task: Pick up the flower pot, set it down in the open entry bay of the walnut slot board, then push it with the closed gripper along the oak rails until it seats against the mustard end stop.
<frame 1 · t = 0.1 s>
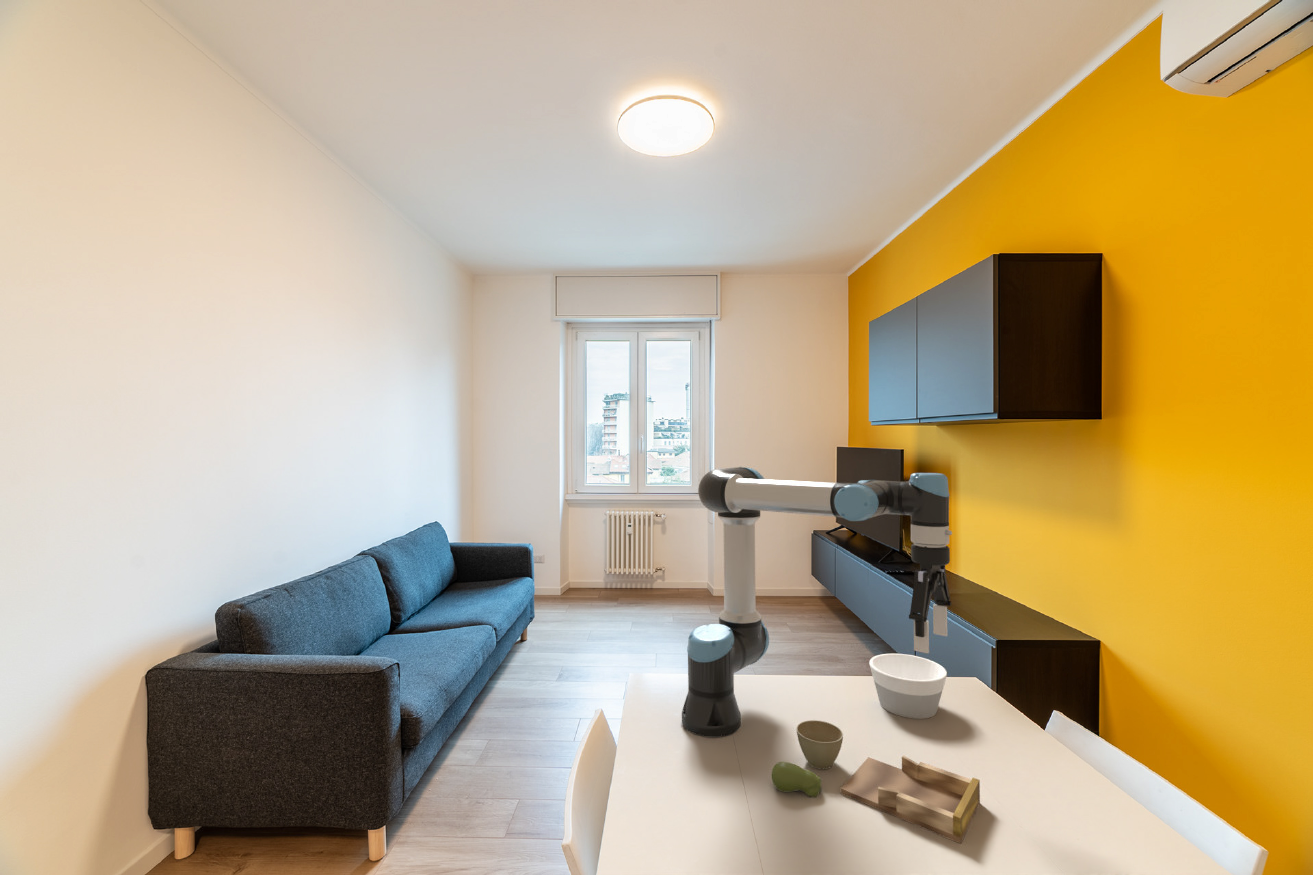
hand: (931, 642, 121), 28 cm above the table, fingers open, 13 cm apart
flower pot: (819, 763, 125), on the table
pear: (796, 791, 115), on the table
slot board: (909, 797, 112), on the table
bowl: (907, 706, 151), on the table
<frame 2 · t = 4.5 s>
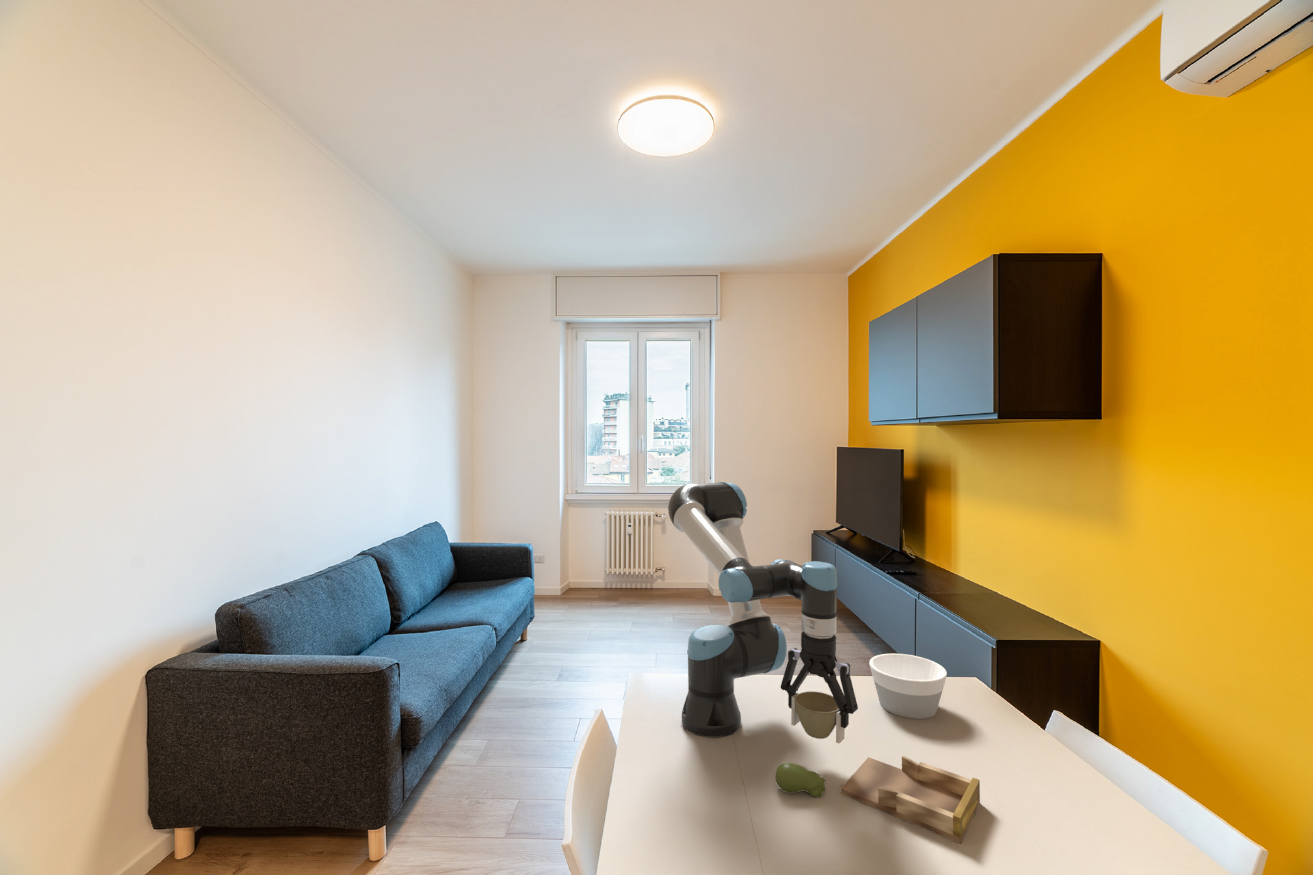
hand: (817, 731, 125), 7 cm above the table, fingers closed on flower pot, 10 cm apart
flower pot: (817, 733, 125), point 6 cm above the table, touching gripper
when the fingers open (2 cm above the table, at t = 8.3 s): flower pot drops 1 cm, resting on slot board.
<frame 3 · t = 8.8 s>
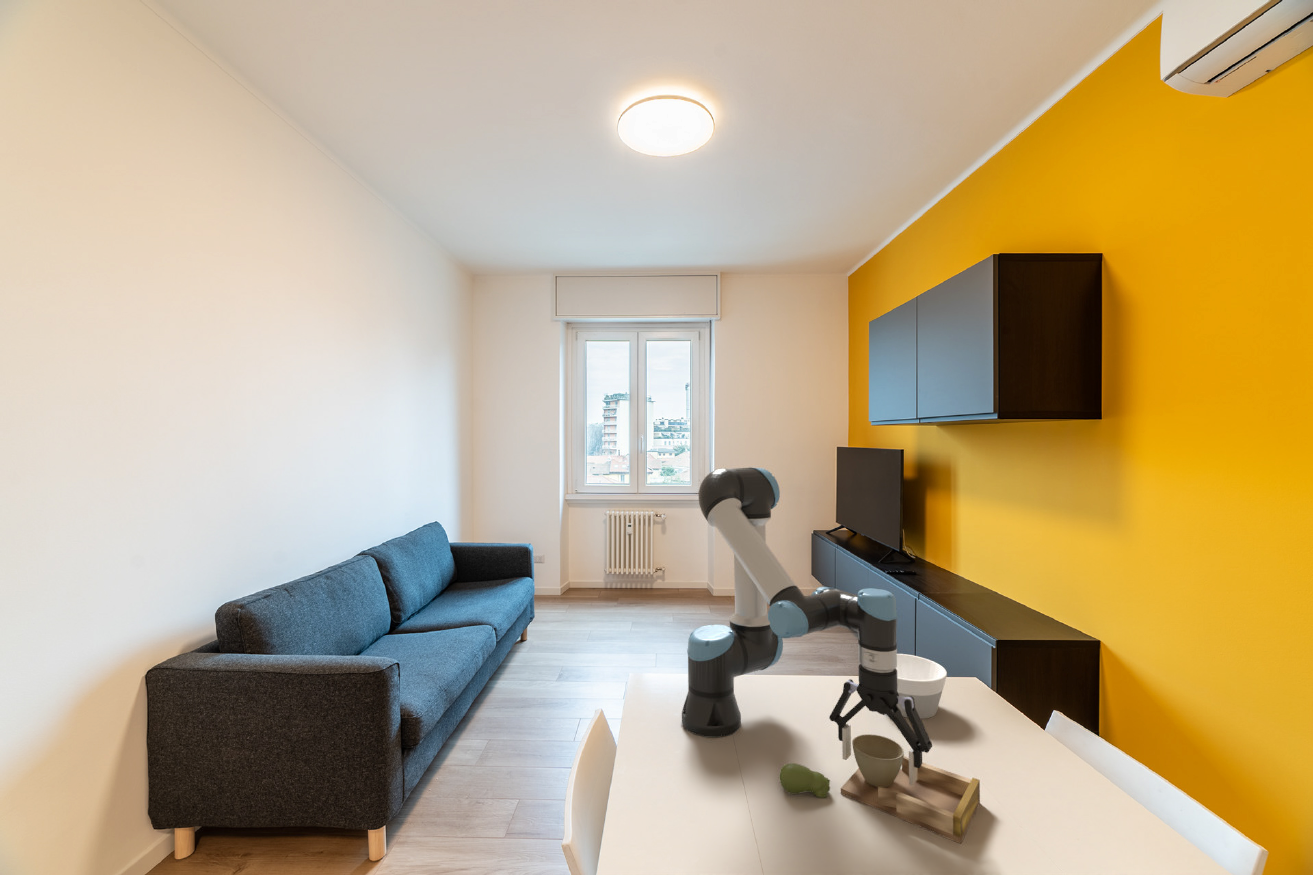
hand: (878, 768, 116), 4 cm above the table, fingers open, 13 cm apart
flower pot: (877, 781, 116), point 1 cm above the table, touching slot board
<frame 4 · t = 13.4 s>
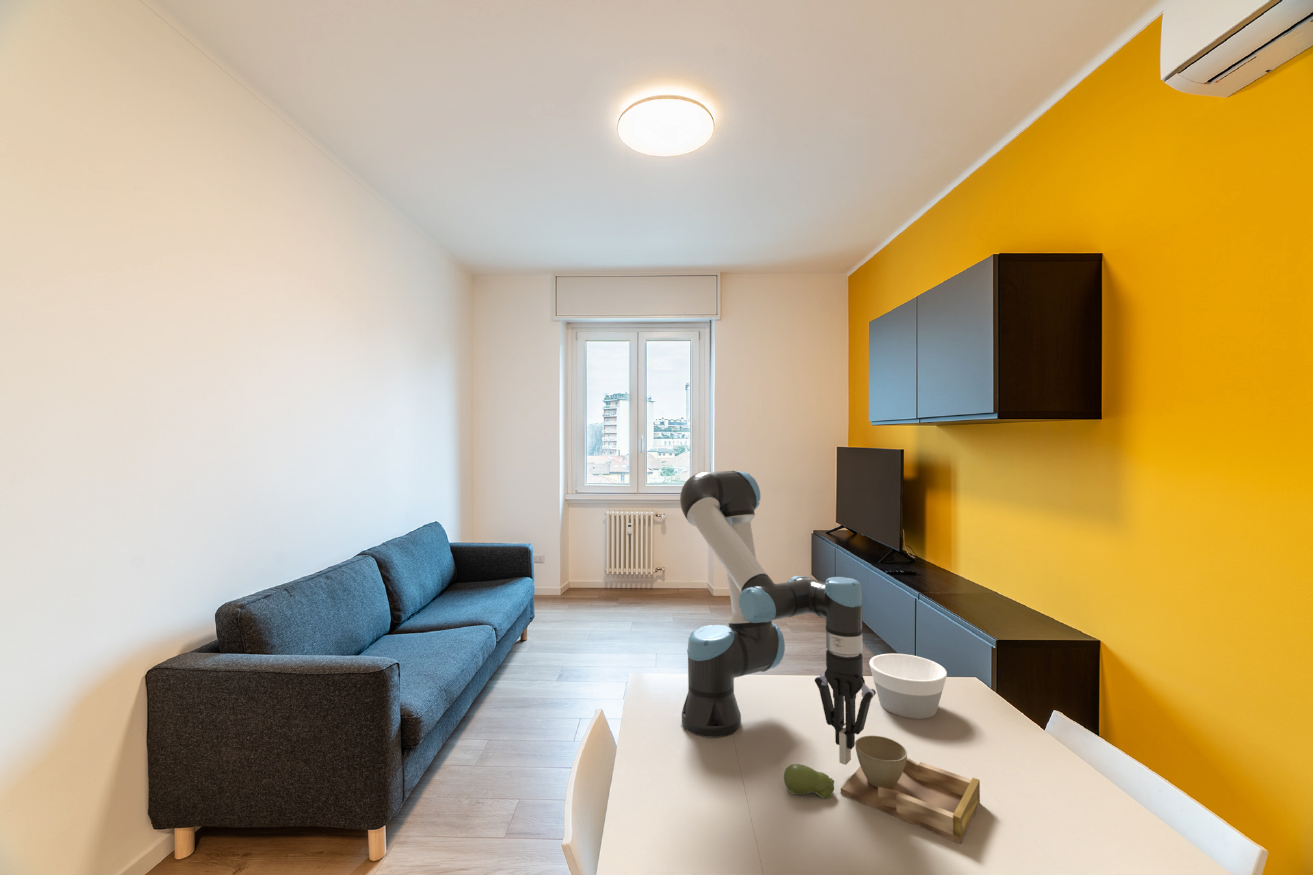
hand: (845, 760, 121), 3 cm above the table, fingers closed
flower pot: (881, 782, 116), point 1 cm above the table, touching gripper
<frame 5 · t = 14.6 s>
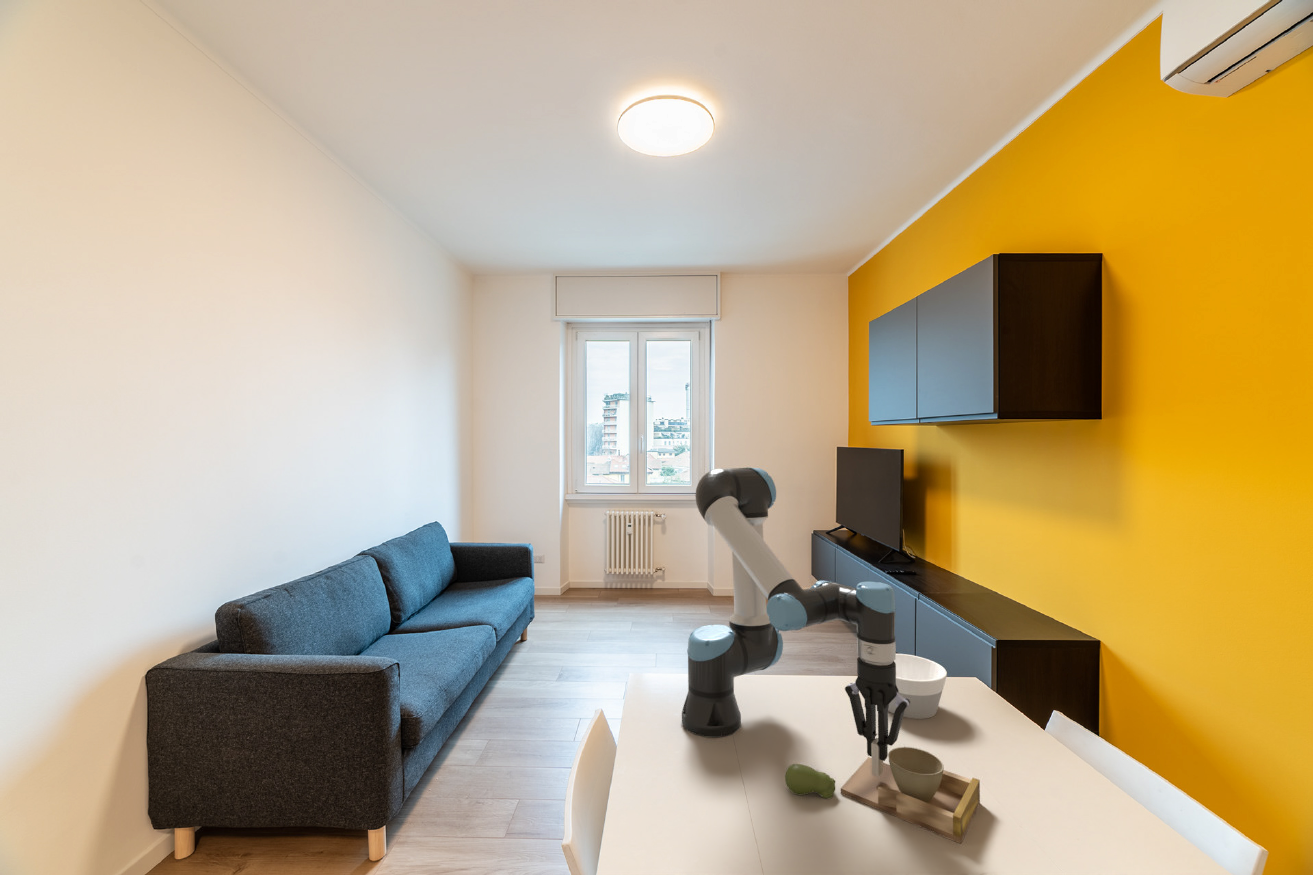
hand: (877, 772, 116), 3 cm above the table, fingers closed
flower pot: (915, 797, 111), point 1 cm above the table, touching gripper
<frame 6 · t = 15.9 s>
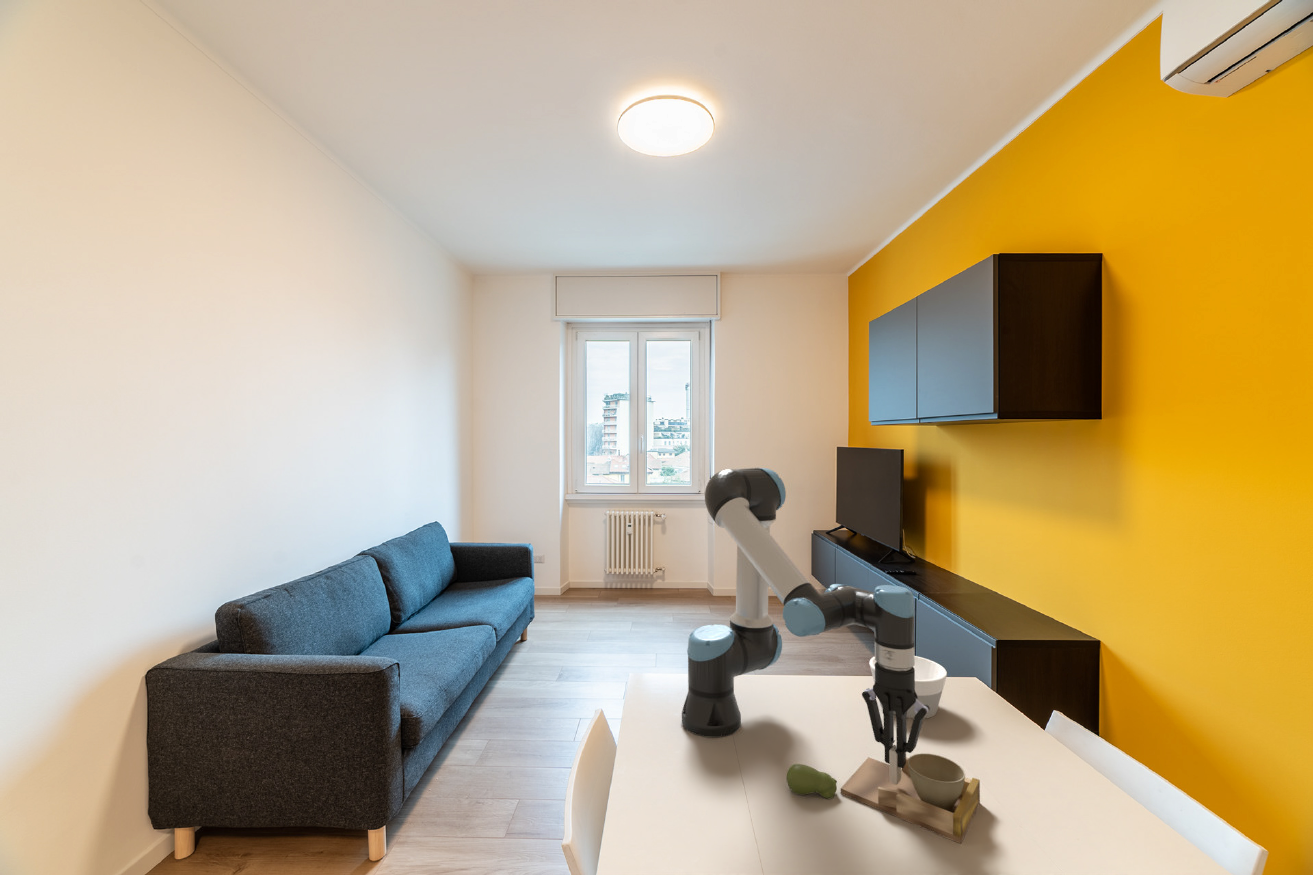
hand: (895, 780, 114), 2 cm above the table, fingers closed
flower pot: (936, 804, 109), point 1 cm above the table, touching gripper, slot board
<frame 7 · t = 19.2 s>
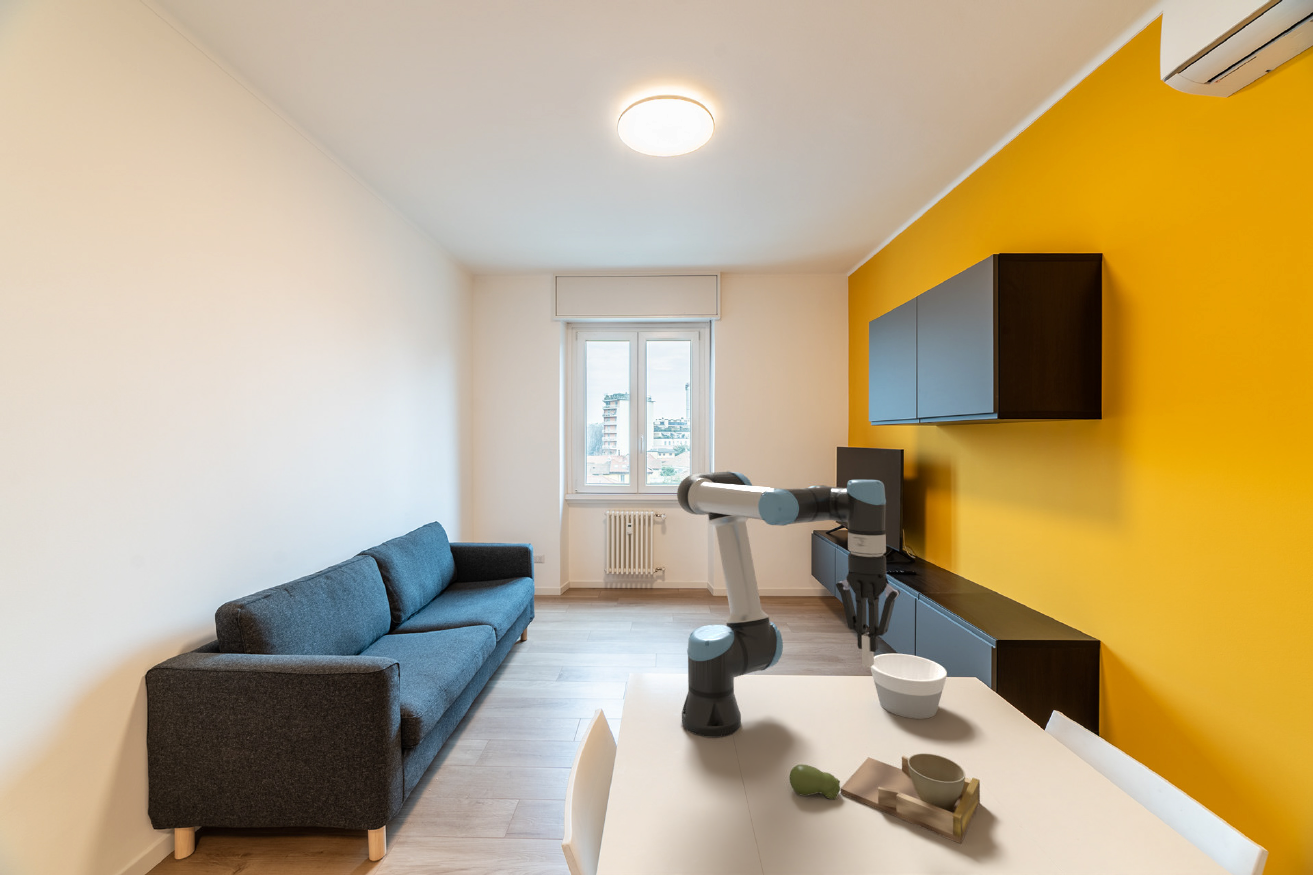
hand: (868, 665, 118), 24 cm above the table, fingers closed
flower pot: (936, 804, 109), point 1 cm above the table, touching slot board
at the end: flower pot inside the target area (0.4 cm from its centre), point 0.8 cm above the table; flower pot tilted 0°; the gripper is holding nothing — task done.
